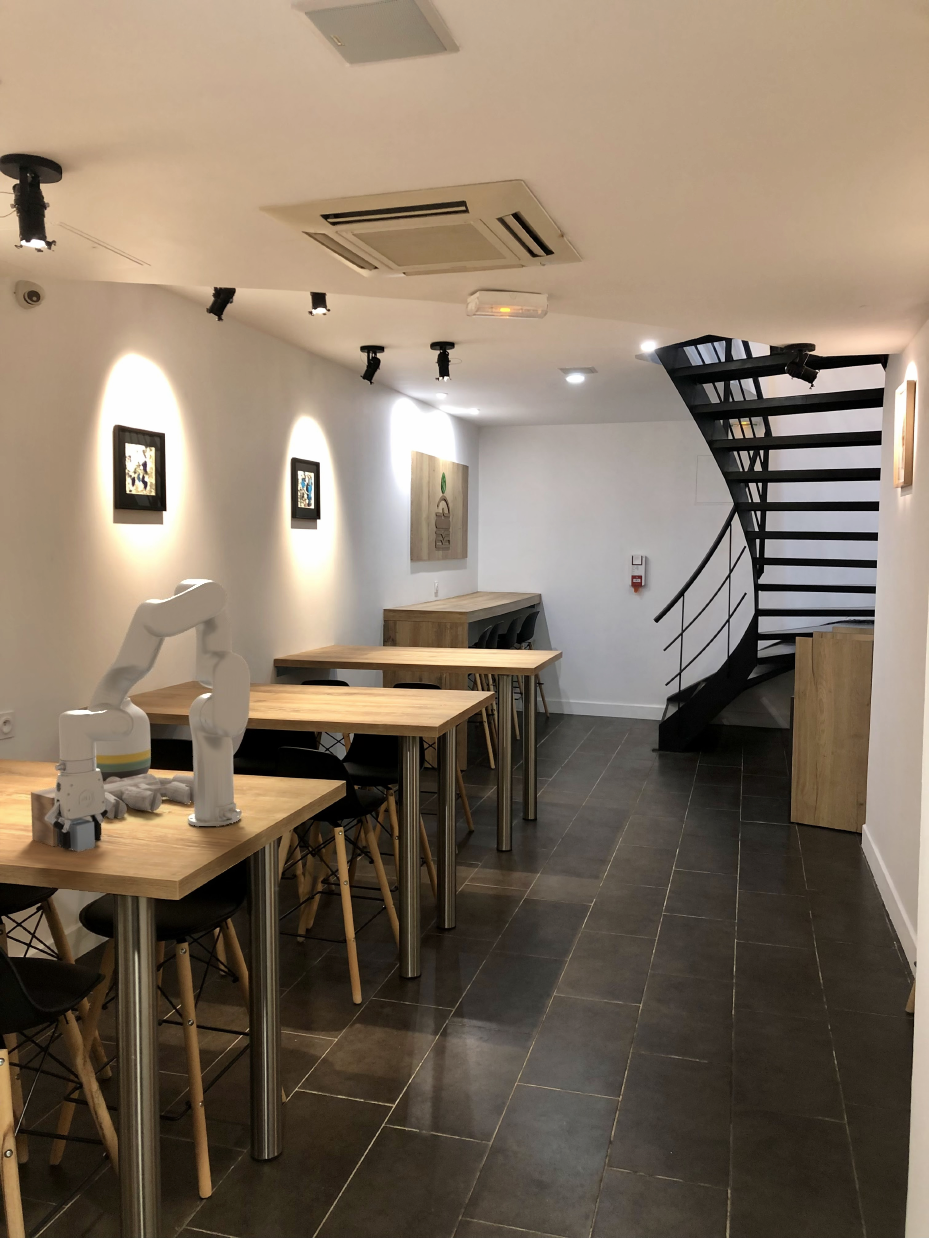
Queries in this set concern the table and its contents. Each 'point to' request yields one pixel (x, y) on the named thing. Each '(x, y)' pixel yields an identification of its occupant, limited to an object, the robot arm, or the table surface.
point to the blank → (80, 834)
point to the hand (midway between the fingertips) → (80, 843)
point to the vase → (126, 748)
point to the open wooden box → (43, 816)
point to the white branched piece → (146, 792)
